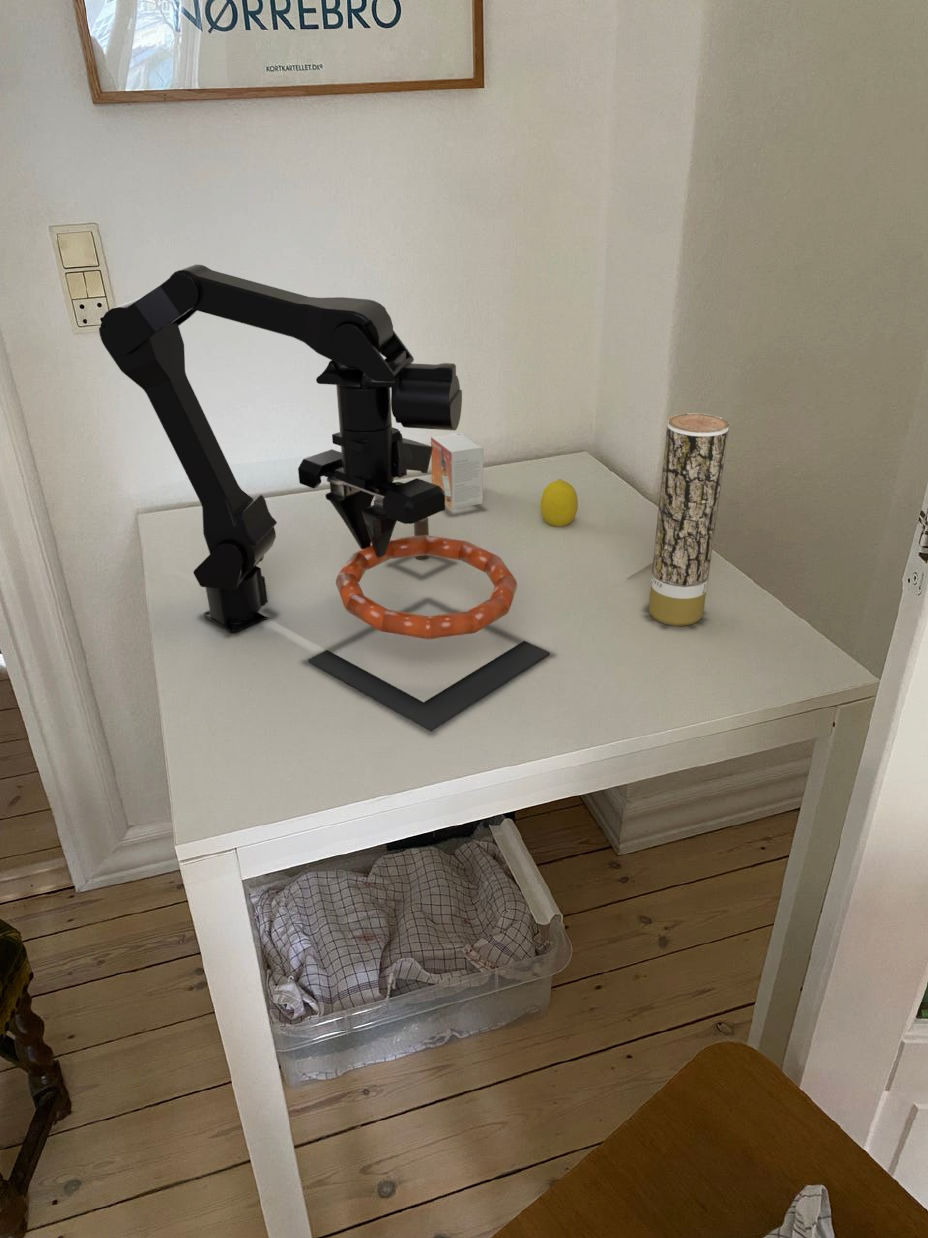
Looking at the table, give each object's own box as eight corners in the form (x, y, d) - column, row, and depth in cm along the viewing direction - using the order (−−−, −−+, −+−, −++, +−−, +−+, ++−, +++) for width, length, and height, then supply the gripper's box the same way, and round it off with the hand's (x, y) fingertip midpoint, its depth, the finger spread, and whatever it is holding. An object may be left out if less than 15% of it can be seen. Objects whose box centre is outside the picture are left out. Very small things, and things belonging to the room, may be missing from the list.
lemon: (576, 522, 141) (579, 473, 137) (576, 537, 136) (579, 486, 132) (540, 521, 142) (541, 472, 138) (539, 536, 137) (540, 485, 133)
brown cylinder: (422, 578, 126) (421, 531, 122) (392, 565, 129) (389, 519, 126) (452, 563, 129) (452, 517, 126) (422, 551, 133) (420, 506, 129)
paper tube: (662, 632, 113) (684, 434, 100) (638, 606, 118) (657, 416, 106) (712, 624, 114) (740, 428, 102) (687, 598, 120) (710, 410, 107)
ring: (428, 665, 93) (429, 645, 91) (302, 590, 103) (301, 571, 102) (549, 595, 105) (551, 576, 104) (425, 534, 116) (425, 517, 115)
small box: (431, 498, 150) (429, 436, 145) (462, 492, 152) (461, 431, 147) (451, 516, 144) (450, 451, 138) (483, 510, 146) (484, 446, 140)
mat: (430, 731, 96) (430, 728, 95) (308, 662, 107) (308, 659, 107) (549, 654, 108) (549, 652, 108) (428, 600, 120) (428, 597, 120)
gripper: (478, 423, 100) (478, 553, 108) (362, 391, 111) (370, 511, 119) (405, 450, 93) (411, 587, 101) (289, 413, 104) (302, 539, 112)
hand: (373, 552), depth 108 cm, fingers closed on ring, 2 cm apart
